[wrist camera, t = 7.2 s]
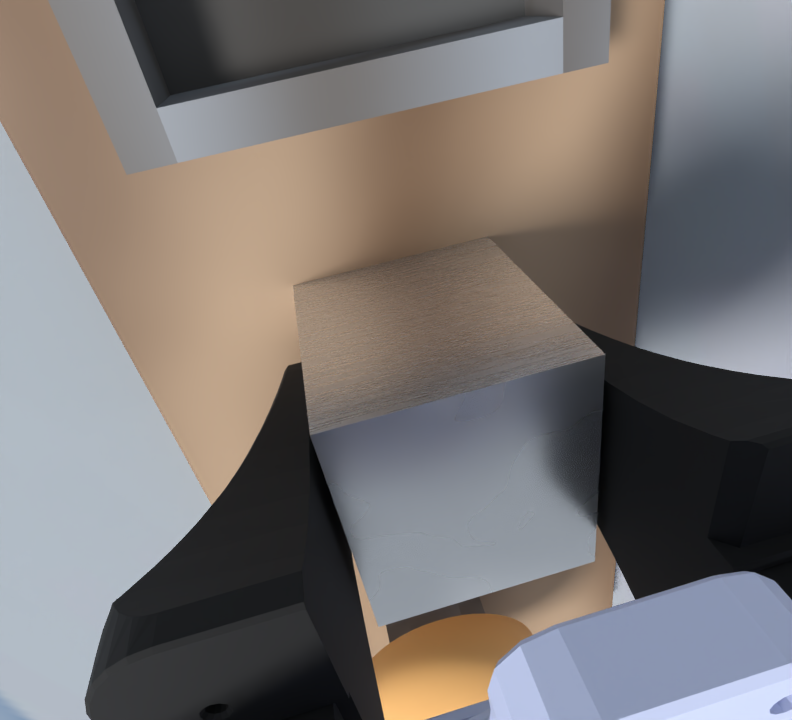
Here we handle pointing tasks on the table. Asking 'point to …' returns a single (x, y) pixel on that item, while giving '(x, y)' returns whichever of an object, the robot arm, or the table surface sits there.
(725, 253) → the table surface
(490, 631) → the wheel
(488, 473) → the brushed metal cube
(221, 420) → the wooden fixture board
